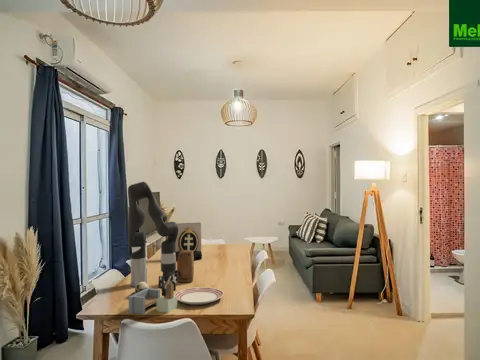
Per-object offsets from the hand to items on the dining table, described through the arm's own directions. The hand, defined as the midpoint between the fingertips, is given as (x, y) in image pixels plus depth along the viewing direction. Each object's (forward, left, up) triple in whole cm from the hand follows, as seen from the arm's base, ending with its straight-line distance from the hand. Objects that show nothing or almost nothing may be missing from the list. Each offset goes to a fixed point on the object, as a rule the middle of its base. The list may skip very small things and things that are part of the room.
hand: (168, 293), depth 177 cm
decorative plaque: (-102, -49, -8) cm, 114 cm away
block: (-46, -18, -8) cm, 50 cm away
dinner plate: (-19, +7, -9) cm, 22 cm away
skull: (-14, -28, -9) cm, 32 cm away
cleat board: (+3, -12, -8) cm, 15 cm away
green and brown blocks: (0, -1, -8) cm, 8 cm away
